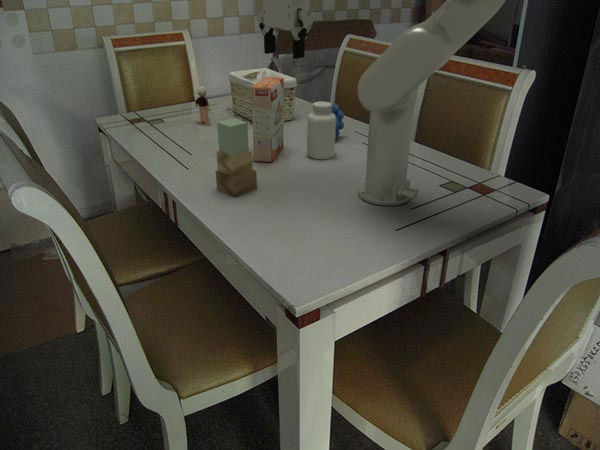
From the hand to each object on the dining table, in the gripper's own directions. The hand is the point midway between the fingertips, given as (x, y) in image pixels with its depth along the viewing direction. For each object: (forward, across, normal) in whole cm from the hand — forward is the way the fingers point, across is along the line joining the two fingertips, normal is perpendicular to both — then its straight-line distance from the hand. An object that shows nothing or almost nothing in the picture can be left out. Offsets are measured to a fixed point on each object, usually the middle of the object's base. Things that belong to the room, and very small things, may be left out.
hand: (284, 55), depth 119 cm
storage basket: (+31, +47, -34) cm, 66 cm away
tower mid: (+26, +2, +15) cm, 30 cm away
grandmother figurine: (+31, +54, -13) cm, 63 cm away
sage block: (+20, +2, +15) cm, 25 cm away
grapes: (+31, +11, -30) cm, 44 cm away
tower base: (+31, +2, +15) cm, 34 cm away
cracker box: (+31, +15, -8) cm, 35 cm away
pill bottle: (+31, +4, -18) cm, 36 cm away
